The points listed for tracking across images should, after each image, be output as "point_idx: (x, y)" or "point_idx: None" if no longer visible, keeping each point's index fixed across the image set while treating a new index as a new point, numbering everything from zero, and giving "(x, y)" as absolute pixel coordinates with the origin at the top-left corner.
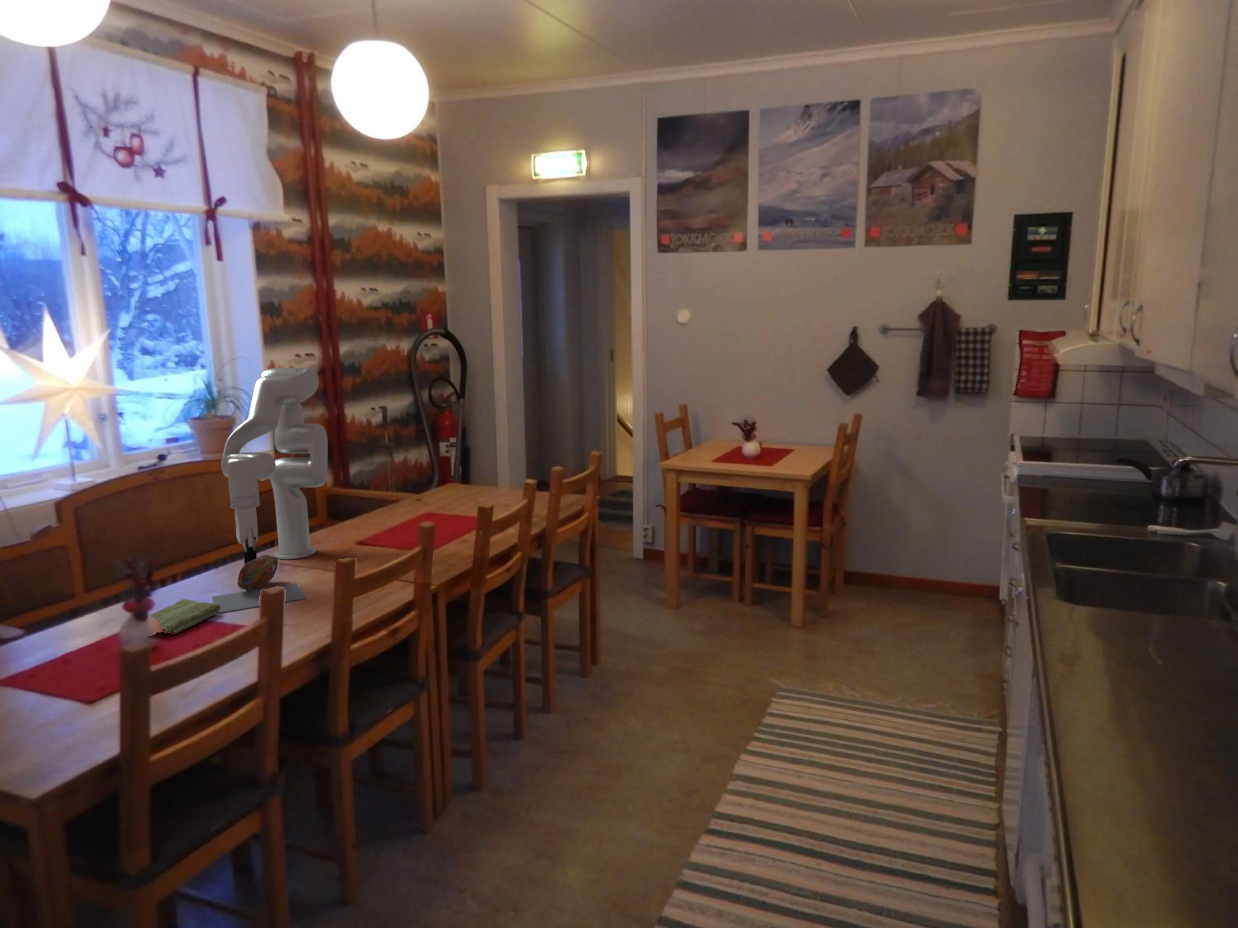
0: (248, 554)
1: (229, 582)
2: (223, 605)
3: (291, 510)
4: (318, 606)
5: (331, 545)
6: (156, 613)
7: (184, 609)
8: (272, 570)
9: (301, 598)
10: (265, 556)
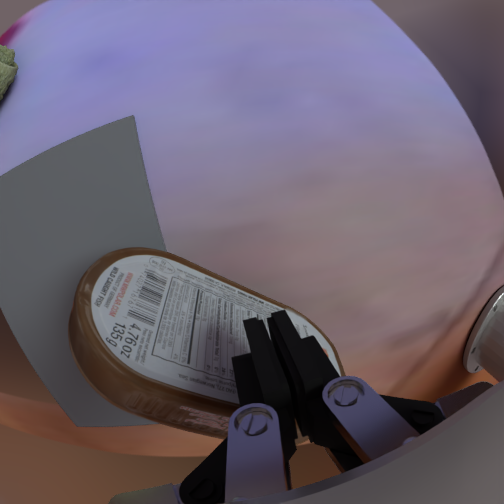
0: (240, 406)
1: (357, 166)
2: (12, 201)
3: None
4: (36, 430)
5: (486, 376)
6: None
7: None
8: None
9: (71, 419)
10: None
